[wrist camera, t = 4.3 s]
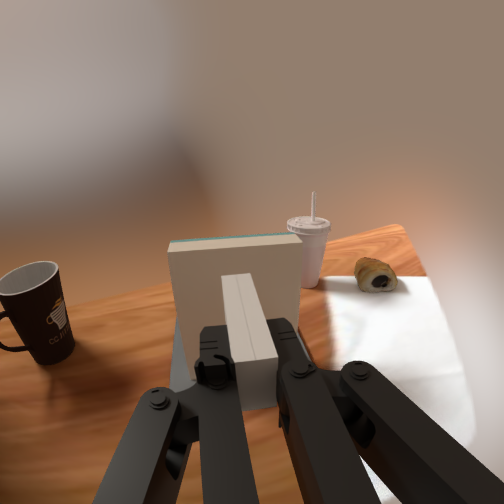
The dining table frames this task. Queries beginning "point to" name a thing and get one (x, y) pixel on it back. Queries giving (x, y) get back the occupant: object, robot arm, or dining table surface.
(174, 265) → the tile
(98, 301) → the dining table surface
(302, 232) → the smoothie
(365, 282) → the pastry
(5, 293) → the coffee mug
